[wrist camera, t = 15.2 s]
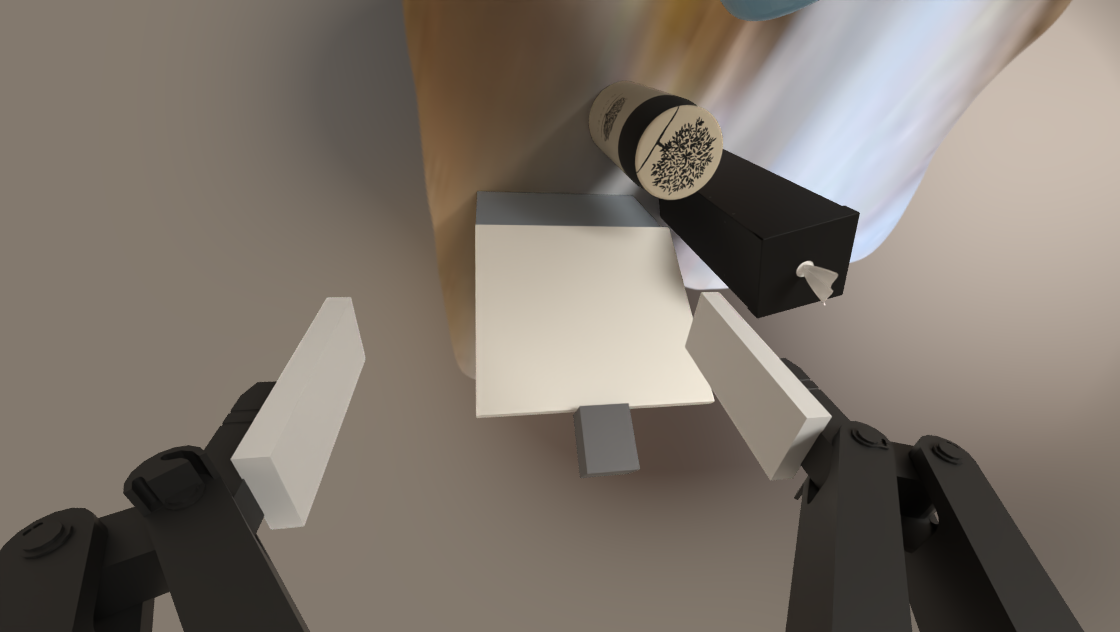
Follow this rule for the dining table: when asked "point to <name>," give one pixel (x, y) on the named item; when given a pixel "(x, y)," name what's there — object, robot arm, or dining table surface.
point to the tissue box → (766, 236)
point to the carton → (560, 210)
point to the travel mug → (656, 138)
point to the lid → (583, 332)
